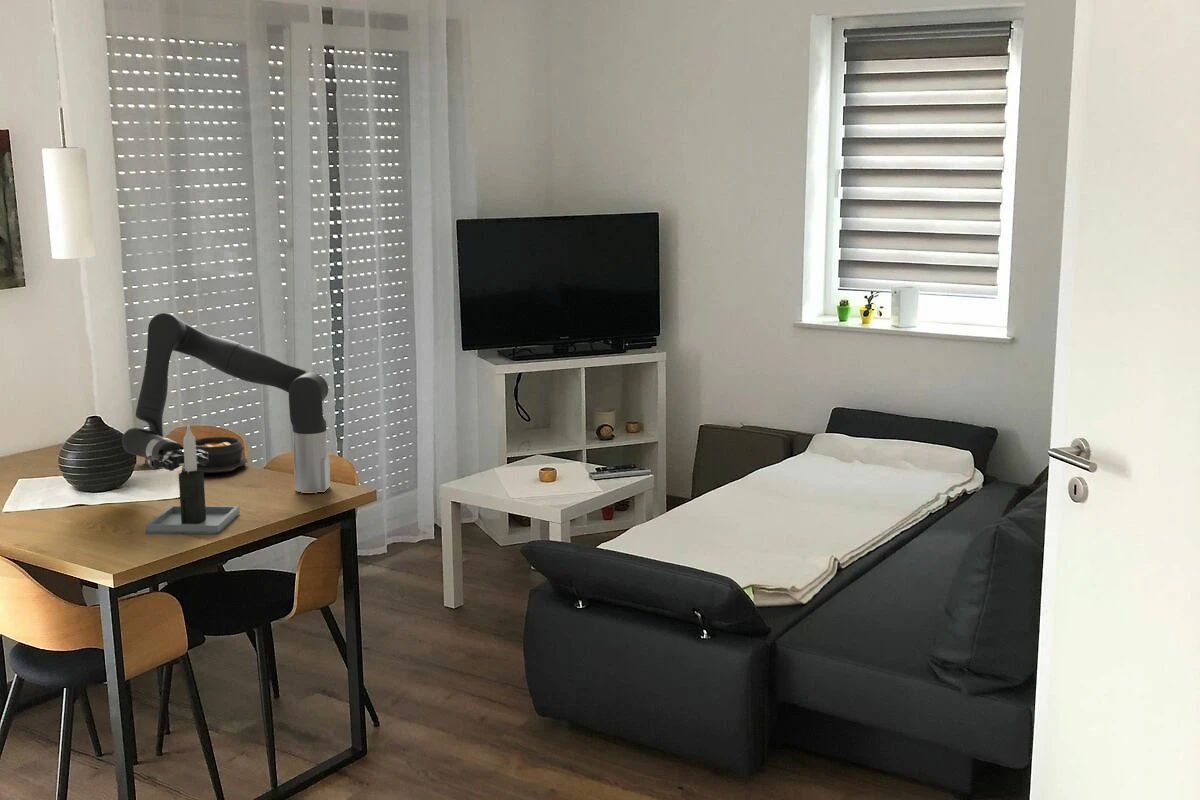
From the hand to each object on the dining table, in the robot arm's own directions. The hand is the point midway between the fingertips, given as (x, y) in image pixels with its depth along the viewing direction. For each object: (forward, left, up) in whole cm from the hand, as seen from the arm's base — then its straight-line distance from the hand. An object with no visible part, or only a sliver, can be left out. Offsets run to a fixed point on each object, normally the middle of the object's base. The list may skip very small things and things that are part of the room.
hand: (189, 464), depth 304 cm
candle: (-1, +1, -15) cm, 15 cm away
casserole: (+12, -58, -16) cm, 61 cm away
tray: (-1, +1, -15) cm, 15 cm away
